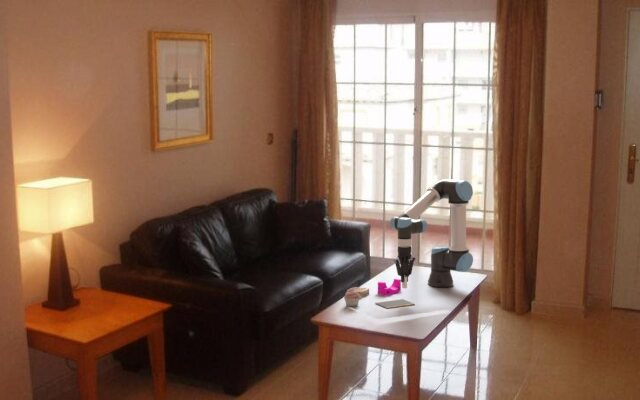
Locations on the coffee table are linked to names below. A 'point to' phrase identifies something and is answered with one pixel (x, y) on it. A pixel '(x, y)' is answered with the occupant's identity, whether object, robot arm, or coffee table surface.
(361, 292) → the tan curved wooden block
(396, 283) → the toy block
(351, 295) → the cupcake
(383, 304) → the mat
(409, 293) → the coffee table surface
